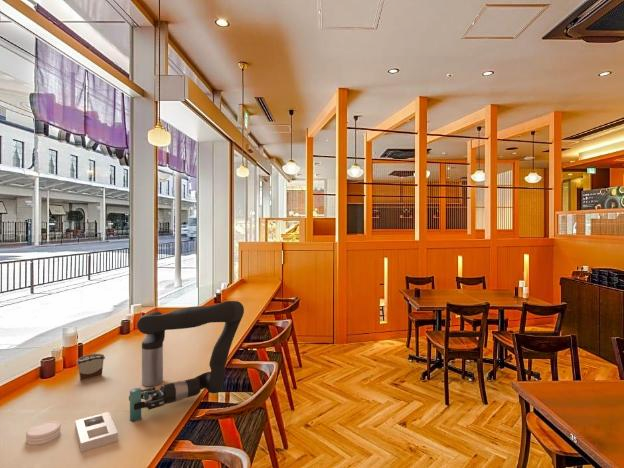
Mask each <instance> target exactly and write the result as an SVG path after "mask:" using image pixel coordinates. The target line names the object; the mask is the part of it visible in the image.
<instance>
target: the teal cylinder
mask: <svg viewBox="0 0 624 468" xmlns="http://www.w3.org/2000/svg"><path fill="white" fill-rule="evenodd" d="M141 390H142V389H141V388H140V387H136V388H132V389H130V390H129V396H130V401H129V421H131V422H137V421H139V420H141V419H142V408H141V409H137V410H134V404H135V403H139V402H142V399H141Z"/></svg>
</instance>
